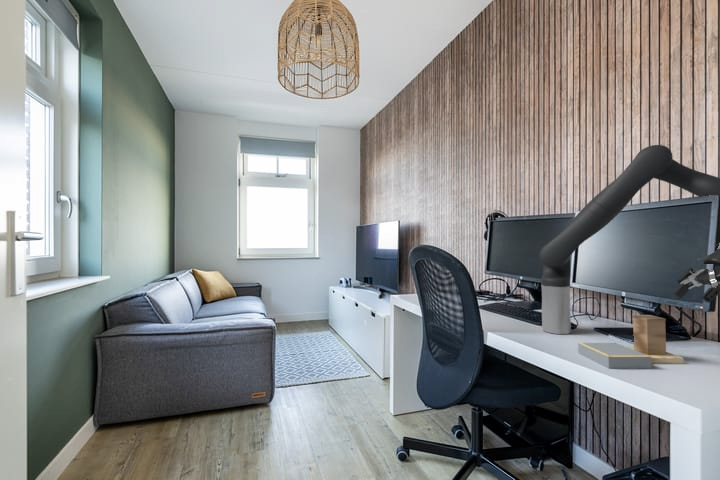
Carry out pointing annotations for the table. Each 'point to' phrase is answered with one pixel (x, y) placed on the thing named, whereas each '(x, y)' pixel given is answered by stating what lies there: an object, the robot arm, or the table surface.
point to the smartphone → (622, 340)
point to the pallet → (664, 358)
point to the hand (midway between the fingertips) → (690, 298)
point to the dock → (614, 355)
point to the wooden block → (649, 334)
